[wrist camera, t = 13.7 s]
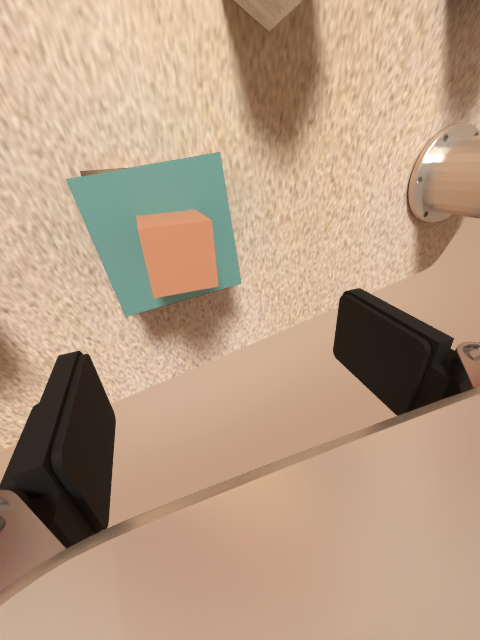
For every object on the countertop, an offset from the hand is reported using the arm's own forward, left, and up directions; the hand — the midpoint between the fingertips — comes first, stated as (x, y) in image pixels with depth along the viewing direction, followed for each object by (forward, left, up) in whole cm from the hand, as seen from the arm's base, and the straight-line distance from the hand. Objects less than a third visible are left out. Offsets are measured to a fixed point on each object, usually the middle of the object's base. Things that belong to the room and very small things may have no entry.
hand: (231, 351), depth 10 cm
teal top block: (0, 0, -22) cm, 22 cm away
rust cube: (0, 0, -18) cm, 18 cm away
